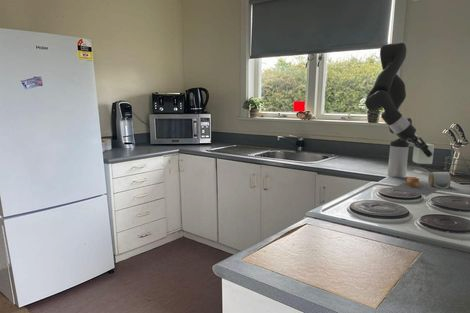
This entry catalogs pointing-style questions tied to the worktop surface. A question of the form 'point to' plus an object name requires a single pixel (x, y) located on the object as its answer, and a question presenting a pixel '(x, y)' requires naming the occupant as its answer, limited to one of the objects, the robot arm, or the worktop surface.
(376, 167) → the worktop surface
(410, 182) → the cube
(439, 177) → the ceramic mug
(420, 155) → the pale green block
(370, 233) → the worktop surface
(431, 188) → the mat
